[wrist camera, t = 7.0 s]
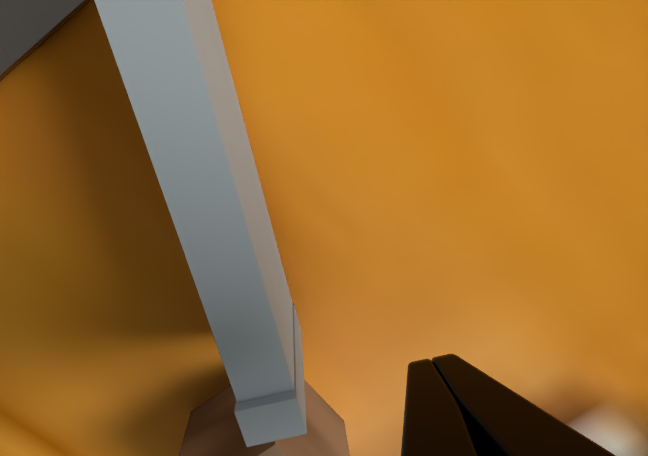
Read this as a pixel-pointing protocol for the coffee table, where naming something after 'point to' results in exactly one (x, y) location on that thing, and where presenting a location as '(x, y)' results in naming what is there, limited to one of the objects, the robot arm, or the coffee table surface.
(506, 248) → the coffee table surface
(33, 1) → the dark grey long piece
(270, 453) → the walnut block
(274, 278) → the grey block
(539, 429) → the robot arm
